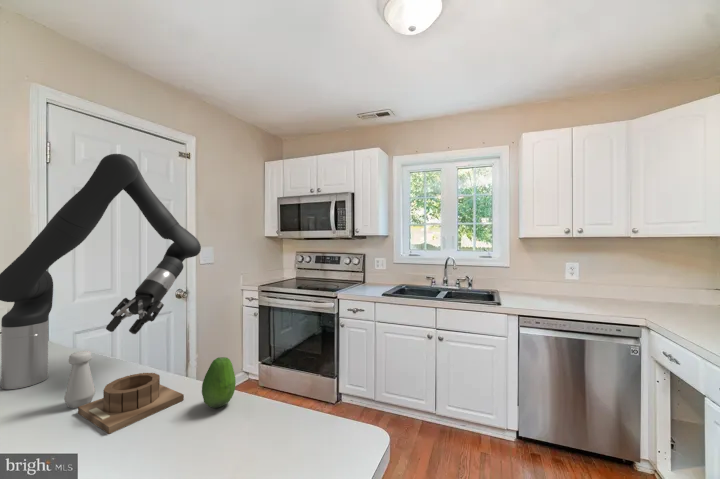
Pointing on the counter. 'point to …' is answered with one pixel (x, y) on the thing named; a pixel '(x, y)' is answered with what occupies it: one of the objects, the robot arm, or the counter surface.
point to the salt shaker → (79, 380)
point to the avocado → (219, 383)
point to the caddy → (129, 401)
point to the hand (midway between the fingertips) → (120, 331)
